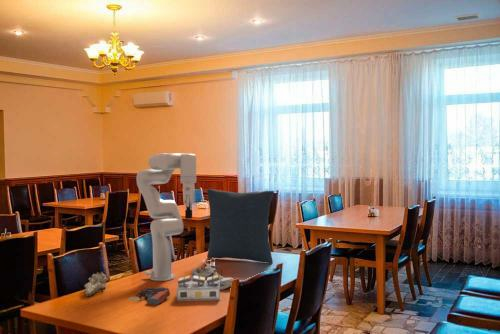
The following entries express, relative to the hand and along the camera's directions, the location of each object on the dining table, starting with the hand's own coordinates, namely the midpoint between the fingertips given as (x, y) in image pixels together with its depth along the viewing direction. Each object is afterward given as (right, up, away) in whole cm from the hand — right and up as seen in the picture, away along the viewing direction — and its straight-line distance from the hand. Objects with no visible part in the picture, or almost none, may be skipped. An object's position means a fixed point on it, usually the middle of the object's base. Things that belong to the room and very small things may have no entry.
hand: (188, 218), depth 231 cm
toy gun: (-16, -36, -10) cm, 41 cm away
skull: (-45, -36, +1) cm, 58 cm away
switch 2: (+6, -27, -9) cm, 29 cm away
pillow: (+23, -33, +62) cm, 74 cm away
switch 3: (+12, -27, -8) cm, 31 cm away
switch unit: (+6, -35, -8) cm, 37 cm away
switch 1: (-1, -27, -9) cm, 29 cm away
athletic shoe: (+11, -35, +8) cm, 37 cm away
